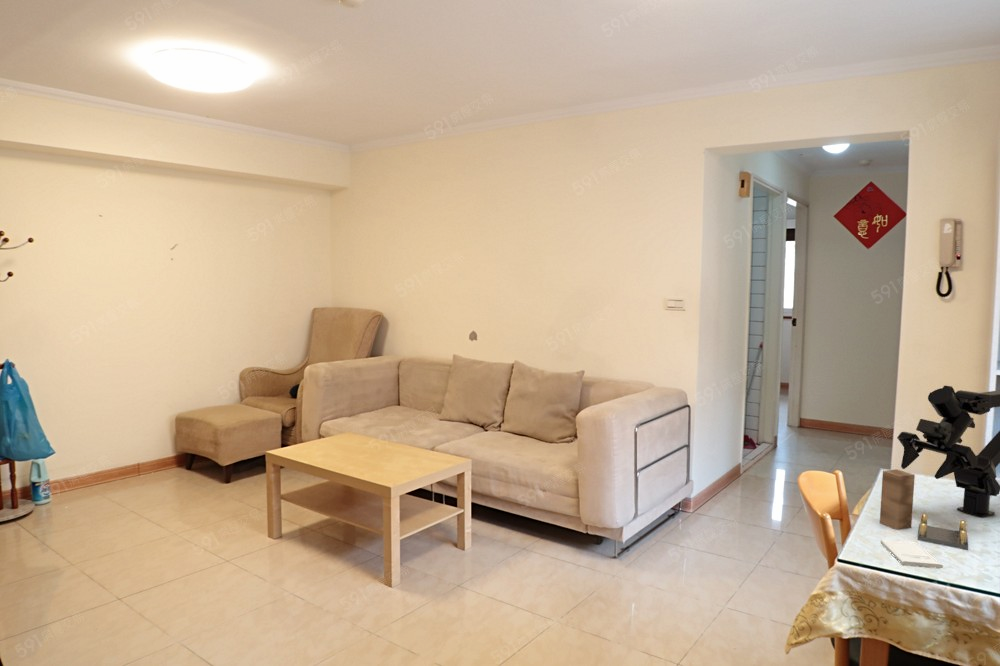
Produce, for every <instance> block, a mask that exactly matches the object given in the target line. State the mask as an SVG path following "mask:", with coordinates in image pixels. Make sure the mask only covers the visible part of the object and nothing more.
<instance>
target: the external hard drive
mask: <svg viewBox="0 0 1000 666" xmlns="http://www.w3.org/2000/svg"><path fill="white" fill-rule="evenodd" d="M880 543H881V544H882V545H883V546H884V547H885V548H886V551H888V553H890V552H891V553H890V555H892V554H893V555H894V556H895V557H896V558H897V559H898V560H899V561H900V562H899V561H898V560H897V559H896V558H895V557H894V556H893V555H892V556H893V557H894V558H895V559H896V560H897V561H898V562H899V564H900V565H902V566H906V565H911V566H910V567H917V566H919V567H921V566H925V567H924V568H929V567H936V568H935V569H940V568H943V567H944V565H943V564H942V563H941V562H940V561H939V560H937V559H936V558H935V557H934V556H933V555H932V554H930V552H928V551H927V550H926V549H925V548H924V547H923V546H922V545H920V544H919V543H918V542H915V541H905V540H893V539H880ZM880 543H879V544H880ZM881 544H880V545H881ZM882 545H881V546H882ZM883 546H882V547H883ZM884 547H883V548H884ZM885 548H884V549H885ZM943 569H944V568H943Z"/></svg>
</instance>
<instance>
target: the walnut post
mask: <svg viewBox="0 0 1000 666" xmlns="http://www.w3.org/2000/svg"><path fill="white" fill-rule="evenodd" d="M915 477H916V476H915V474H913V473H910V472H906V471H905V470H904V471H903V470H900V469H888V470H882V479H881V480H882V482H881V493H880V494H881V495H880V511H879V512H880V513H879V524H882V525H884V526H885V527H889V528H892V529H894V530H897V531H899V530H907V529H910V528H912V520H913V508H914V507H913V505H914V494H915V493H914V490H915Z"/></svg>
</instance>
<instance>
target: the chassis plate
mask: <svg viewBox="0 0 1000 666" xmlns="http://www.w3.org/2000/svg"><path fill="white" fill-rule="evenodd" d="M928 516H929V515H928V514H927V513H921V514H920V523H919V524H918V531H917V539H916V540H917V541H921V542H925V543H927V542H928V543H931V542H932V544H936V545H941V546H947V547H951V548H957V549H961V550H965V551H968V550H969V540H968V531H967V521H966V520H959V523H958V524H959V525H958V530H955V529H948V528H943V527H938V526H934V525H928V521H929V520H928Z"/></svg>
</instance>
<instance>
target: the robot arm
mask: <svg viewBox="0 0 1000 666" xmlns="http://www.w3.org/2000/svg"><path fill="white" fill-rule="evenodd" d="M927 401H929V403H930V405H931V406H932V408H933V409H934V411H935V412H936V414H937V415H938V416H939V417H940V418H942V419H941V420H940V422H936V421H933V420H929V419H928V420H927V419H923V418H920V419H919V422H918V424H917V427H916V429H915V430H916V431H917V432H919V433H920V432H921V433H922V437H923V439H926V441H924V440H921V439H920V438H919V436H918V434H916V433H912V432H907V431H901V432H900V433H899V434H898V436H897V437H896V438H897V440H898V441H899V442H900V444H901V445H902V447H903V454H902V460H901V465H900V468H901V469H903V470H905V469H907V468H908V467H909V466H910V465H911V464H912V463H914V462H915V460H916V459H918V458H919V457H920V454H919V453H921V452H923V450H927V451H932V452H934V453H938V454H942V455H946V457H945V460H944V461H943V462H942V464H940V466H939V468H938V469H937V471H936V472H935V474H934V478H935V479H936V480H939V479H941V478H943V477H945V476H948V475H950V474H952V473H953V476H954V483H955V485H956V487H957V488H961V489H964V491H963V493H964V494H963V501H962V502H963V503H962V506H960V507H957V508H956V510H957V511H959V512H963V513H966V514H969V515H973V516H976V517H979V518H984V517H989V516H993V515H996V512H995V511H993V510H992V511H991V510H990V502H991V501H990V499H991V497H998V495H999V494H1000V484H999V482H998V481H997V479H996V478H997V470H996V469H997V467H998V466H999V464H1000V430H999V431H998V432H997V433H996V434H995V435H994V437H992V438H991V440H989V441H988V443H987V444H986V445H985V446H984V447H983V448H982V450H980V452H979V453H978V454H977V455H976V454H975V452H974V451H973V449H972V448H971V447H970V446H967V445H963V444H962V442H963V439H962V436H963V435H964V433H965V432H966V431H967V429H968V428H970V429H975V428H976V424H975V421H974V420H975V419H974V417H972V416H971V415H970V414H973V415H978V416H981V415H985V414H988V413H989V412H991V409H993V408H1000V389H998V390H991V391H983V392H974V391H969V390H959V389H958V390H957V391H956V392H955V389H954V387H953V386H952V385H943V386H942V388H937V389H934V390H933V391H931V392H929V394H928V396H927Z"/></svg>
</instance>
